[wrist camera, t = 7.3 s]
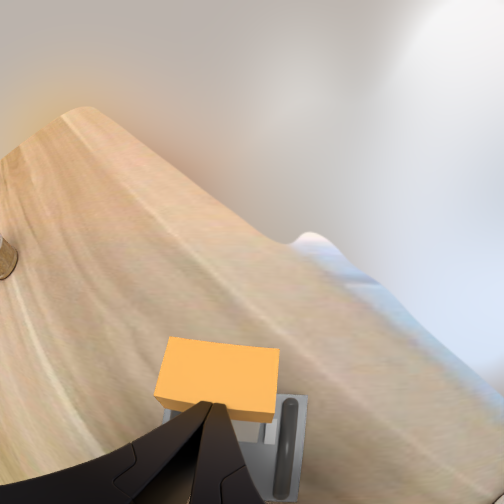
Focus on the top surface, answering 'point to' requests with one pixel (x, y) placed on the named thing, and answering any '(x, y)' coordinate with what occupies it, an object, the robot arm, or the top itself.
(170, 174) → the top surface
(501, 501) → the drinking glass
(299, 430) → the grey railed base plate
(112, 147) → the top surface
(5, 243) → the sprinkles bottle
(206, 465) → the robot arm
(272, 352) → the lever
